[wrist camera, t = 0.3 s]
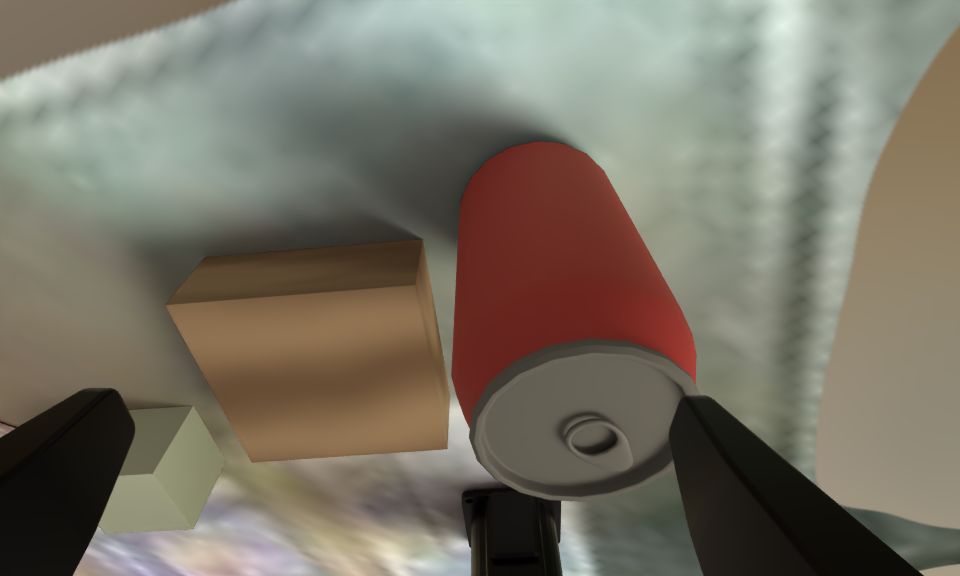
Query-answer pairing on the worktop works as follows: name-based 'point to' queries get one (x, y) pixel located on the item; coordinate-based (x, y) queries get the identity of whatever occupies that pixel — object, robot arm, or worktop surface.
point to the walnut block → (320, 349)
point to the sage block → (164, 473)
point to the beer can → (563, 330)
